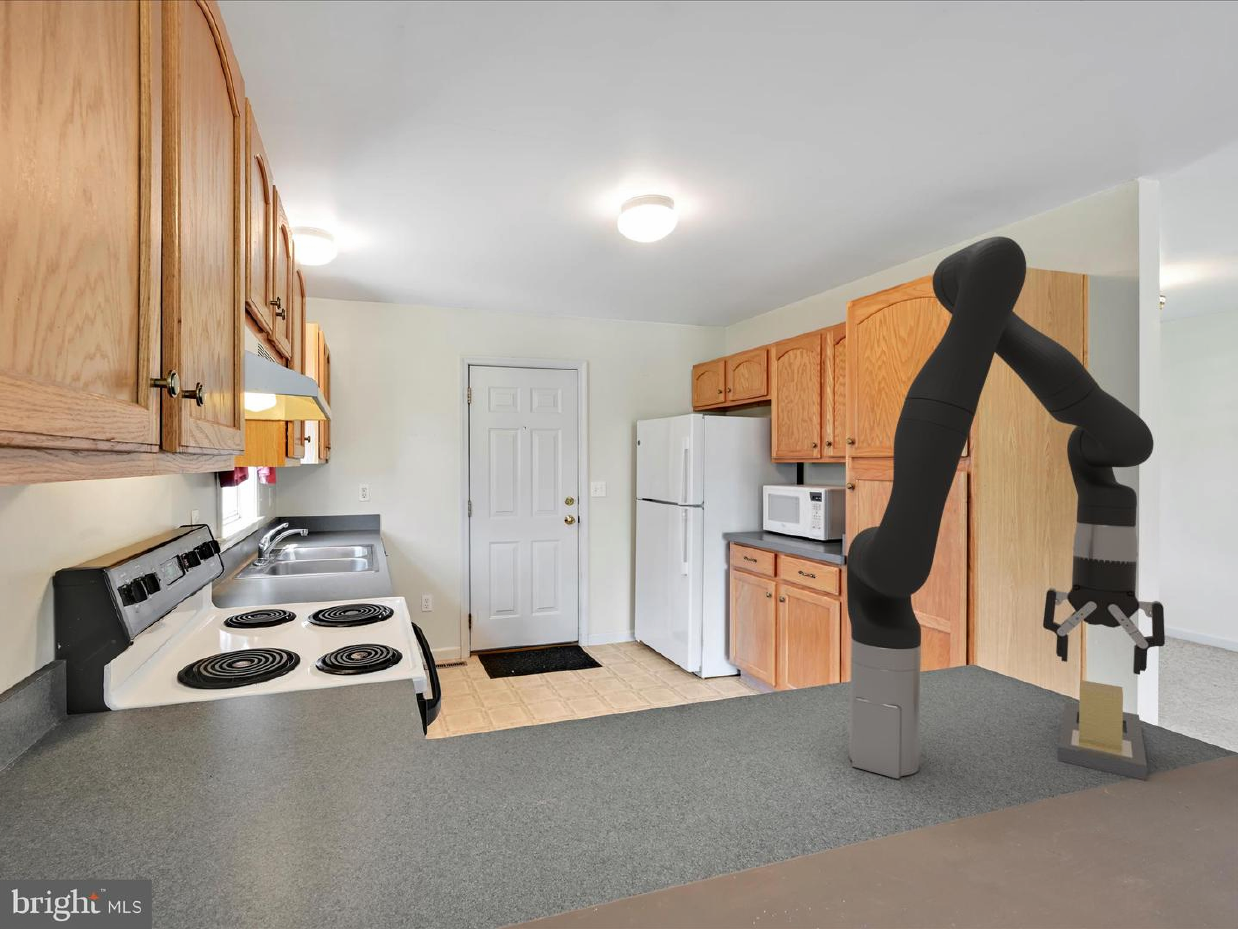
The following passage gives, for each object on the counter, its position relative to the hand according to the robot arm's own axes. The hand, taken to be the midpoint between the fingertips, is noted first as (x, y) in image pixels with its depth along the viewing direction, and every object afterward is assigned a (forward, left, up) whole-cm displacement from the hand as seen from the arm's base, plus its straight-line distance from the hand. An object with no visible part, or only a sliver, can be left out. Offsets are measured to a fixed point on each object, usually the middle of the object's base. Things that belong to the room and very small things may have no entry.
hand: (1099, 666), depth 97 cm
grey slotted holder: (+7, 0, -13) cm, 15 cm away
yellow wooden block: (0, 0, -11) cm, 11 cm away
